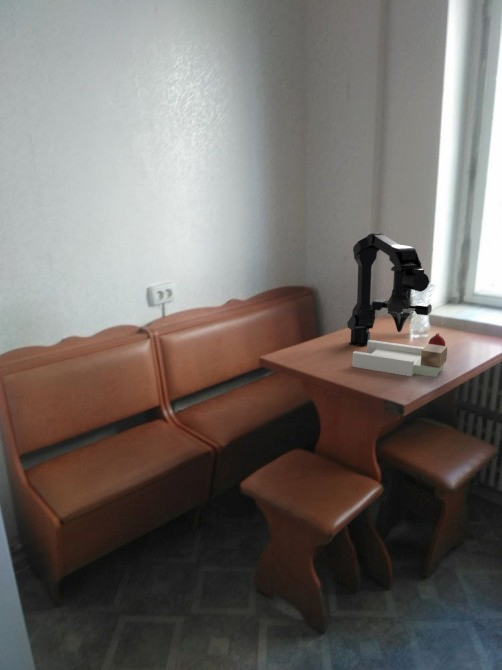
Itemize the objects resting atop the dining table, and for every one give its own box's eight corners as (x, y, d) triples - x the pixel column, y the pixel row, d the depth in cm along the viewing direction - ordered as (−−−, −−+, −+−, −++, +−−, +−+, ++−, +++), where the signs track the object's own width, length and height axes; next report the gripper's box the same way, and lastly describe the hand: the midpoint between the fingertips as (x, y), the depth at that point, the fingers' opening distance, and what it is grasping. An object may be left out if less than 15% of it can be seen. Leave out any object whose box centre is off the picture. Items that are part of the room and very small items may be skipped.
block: (420, 364, 163) (421, 350, 161) (427, 357, 169) (428, 343, 168) (439, 368, 159) (440, 353, 158) (446, 360, 166) (447, 346, 164)
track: (352, 366, 171) (352, 352, 170) (368, 352, 185) (369, 339, 184) (411, 376, 161) (412, 361, 160) (424, 361, 175) (425, 347, 173)
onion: (445, 357, 178) (447, 335, 176) (428, 356, 179) (430, 335, 177) (443, 352, 184) (444, 331, 182) (426, 351, 185) (428, 330, 183)
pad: (413, 373, 163) (414, 364, 163) (421, 363, 172) (422, 355, 172) (435, 377, 160) (436, 368, 159) (443, 366, 169) (443, 358, 168)
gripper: (366, 288, 162) (364, 334, 166) (425, 292, 152) (421, 341, 157) (377, 282, 171) (375, 326, 175) (433, 286, 162) (430, 332, 166)
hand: (399, 331), depth 168 cm, fingers closed
